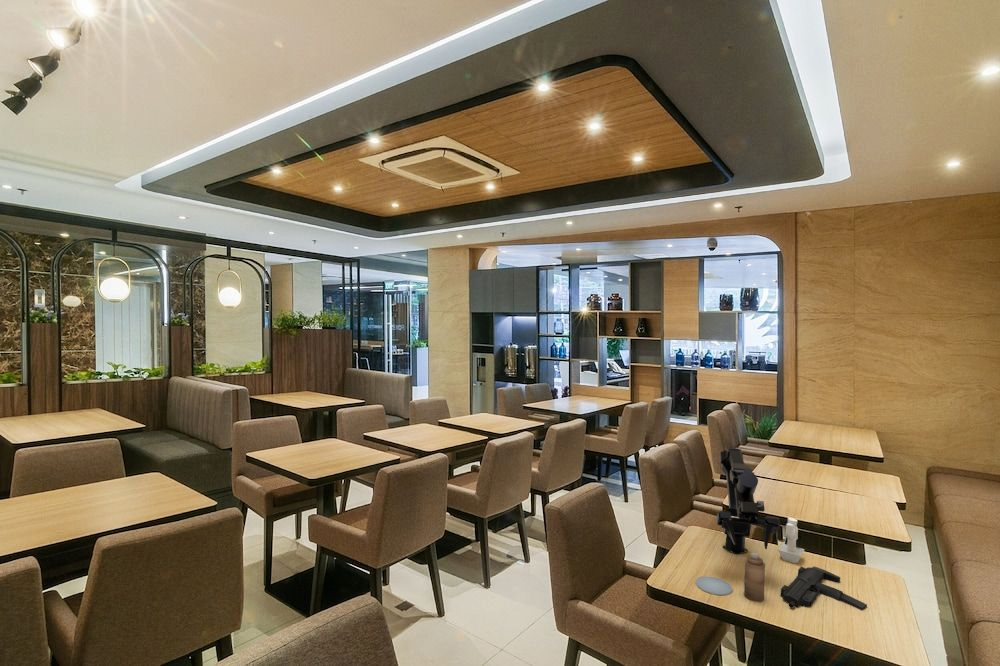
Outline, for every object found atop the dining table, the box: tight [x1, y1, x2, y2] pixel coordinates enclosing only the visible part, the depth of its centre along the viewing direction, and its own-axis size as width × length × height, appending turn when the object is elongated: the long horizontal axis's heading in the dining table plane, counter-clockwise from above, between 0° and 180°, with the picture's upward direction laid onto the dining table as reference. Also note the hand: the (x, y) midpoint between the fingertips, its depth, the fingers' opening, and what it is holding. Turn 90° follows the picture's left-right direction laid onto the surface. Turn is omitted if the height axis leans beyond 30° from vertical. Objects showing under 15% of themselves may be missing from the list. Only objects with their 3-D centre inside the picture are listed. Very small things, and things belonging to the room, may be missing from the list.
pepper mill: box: [743, 552, 766, 603], centre depth 158 cm, size 6×6×13 cm
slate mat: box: [695, 575, 733, 596], centre depth 164 cm, size 11×11×1 cm
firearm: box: [779, 565, 868, 611], centre depth 158 cm, size 3×30×20 cm
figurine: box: [777, 517, 806, 565], centre depth 183 cm, size 7×9×15 cm
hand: (750, 546), depth 164 cm, fingers open, 9 cm apart
